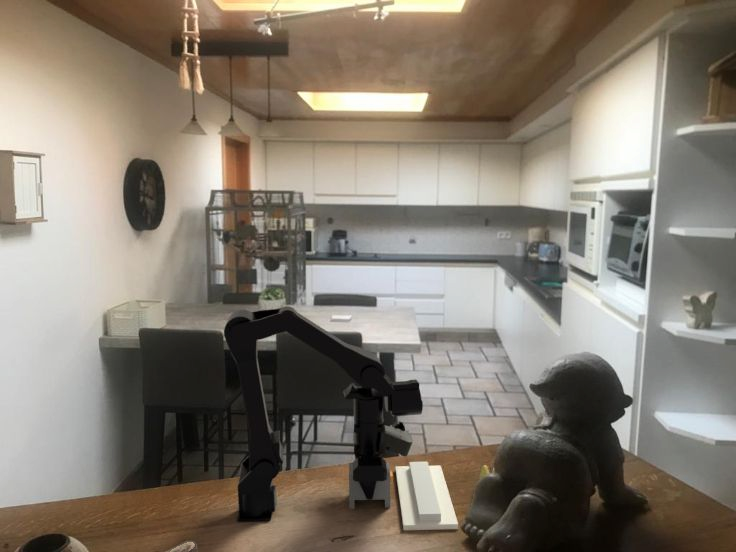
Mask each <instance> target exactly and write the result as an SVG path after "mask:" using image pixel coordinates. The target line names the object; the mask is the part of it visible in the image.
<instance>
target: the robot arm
mask: <svg viewBox="0 0 736 552" xmlns="http://www.w3.org/2000/svg"><path fill="white" fill-rule="evenodd" d="M285 332H286V333H288V334H289V335H291V336H293V337H294V338H296V339H297V340H300V341H301V342H302V343H304V344H306V345H307V346H308V347H311V348H312V349H313V350H315V351H317V352H319V354H322V355H323V356H324V357H327V358H328V359H329V360H331V361H332V362H334V363H336V364H337V365H338V366H339V367H340V368H341V369H342V370H343V371H344V372H345V374H347V376H348V377H349V378H350V379H352V380H353V381H354V382H355V383H356V384H357V385H358V386H356V385H355V383H353V382H351V383H350V384H349V386H347V387H346V388H345V389H344V390H343V391H342V392H343V395H344V398H345V400H353V433H352V434H353V439H352V440H353V445H354V446H353V453H354V456H355V460H353V461H352V463H353V480H354V481H356V482H359V484H360V486H361V488H362V490H363V492H364V494H365V496H366V498H367V499H373V495H374V491H375V487H376V482H377V481H385V480H387V467H386V462H387V461H386V460H385V459H384V458H383V457H382V454H386V453H387V452H386V450H387V451H390V452H393V453H396V454H399V455H400V457H401V456H403V457H408V455H409V453H410V449H411V446H413V442H414V441H413V436H412V434H411V433H410V431H409V430H408V429H407V430H406V427H405V426H406V425H405V422H404V421H401V420H399V419H397V420H396V421H395V422H393V424H390V425H389V426H388V425H385V419H384V409H385V411H386V412H387V413H388V412H390V414H391V416H392V417H395V418H396V417H405V416H406V417H407V416H418V415H422V413H423V408H424V407H423V406H424V404H423V403H424V401H423V400H422V395H421V391H420V383H419V381H418V380H417V379H409V380H405V381H403V380H402V381H401V380H400V381H391V379H390V377H389V376H388V375H387V374H386V373H385V371H386V370H385V368H384V366H383V364H382V362H381V361H380V358H379V357H378V356H377V355H376V354H375V353H374V352H371V351H369V350H367V349H365V348H361V347H359V346H356V345H353V344H349V343H347V342H344V341H343V340H341V339H340V338H338V337H336V336H335V335H334V334H332V333H330V332H329V331H327V330H326V329H324V328H323V327H321V326H319V325H318V324H316V323H315V322H313V321H312V320H310V319H309V318H307V317H306V316H303V315H302V314H301V313H300V312H298V311H297V310H296V309H295V308H294V307H292V306H287V305H286V306H282V307H279V308H271V309H260V310H255V311H250V310H246V309H238V310H235V311H233V312H232V313H231V314H230V315H229V317H228V319H227V321H226V324H225V326H224V329H223V336H224V339H225V342H226V345H227V347H228V350H229V352H230V354H231V356H232V358H233V360H234V361H235V364H236V367H237V373H238V377H239V383H240V389H241V393H242V401H243V404H244V410H245V416H246V422H247V427H248V433H249V446H248V447H249V449H248V456H247V457H246V458H244V460H243V461H242V462H241V463H240V468H239V474H238V475H239V476H238V482H237V499H238V504H237V505H238V513H237V516H236V521H237V522H257V521H258V522H259V521H261V522H263V521H267V522H268V521H271V520H272V517H273V515H274V514H273V513H275V512H276V509H277V504H278V502H277V486H276V485H275V484H274V479H275V478H276V477H277V476H278V475H279V473H280V470H281V464H284V446H283V445H282V443H281V438H280V437H281V436H280V435H281V433H280V432H281V431H280V429H278V430H275V431H274V430H272V427H271V425H270V423H269V417H268V412H267V411H268V410H267V405H266V399H265V394H264V389H263V382H262V377H261V372H260V365H259V359H258V343H259V342H258V340H259V341H260V340H263V339H267V338H270V337H273V336H275V335H277V334H282V333H285Z"/></svg>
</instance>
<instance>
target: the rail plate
mask: <svg viewBox="0 0 736 552" xmlns="http://www.w3.org/2000/svg"><path fill="white" fill-rule="evenodd" d="M395 477H396V483H397V491H398V492H397V493H398V497H399V499H398V500H399V505H400V506H399V508H400V513H401V514H400V515H401V520H402V528H403V531H428V530H431V531H432V530H435V531H436V530H459V522H458V518H457V516H456V515H457V514H456V513H455V509H454V506H453V502H452V499H451V495H450V492H449V488H448V486H447V482H446V478H445V476H444V473H443V468H442V465H429V462H428V461H409V465H406V466H404V465H403V466H399V465H398V466H395Z"/></svg>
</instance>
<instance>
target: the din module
mask: <svg viewBox="0 0 736 552" xmlns="http://www.w3.org/2000/svg"><path fill="white" fill-rule="evenodd" d="M386 467H387V480H385V481H377V482H376V487H375V491H374V495H373V499H367V498H366V496H365V494H364V492H363V490H362V488H361V486H360V484H359V482H356V481H354V480H353V462H349V463H348V495H349V497H348V501H349V505H348V506H349V509H350V510H351V509H353V510H354V509H355V506H356V505H355V504H356V502H355V501H366V500H367V501H370V500H374V501H375V500H384V508H385V509H390V508H391V485H393V484H394V482H393V481H394V480H393V479H394V477H393V476H394V475H393V471H392V470H390V469H391V468H390V463H389V461H386Z"/></svg>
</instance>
